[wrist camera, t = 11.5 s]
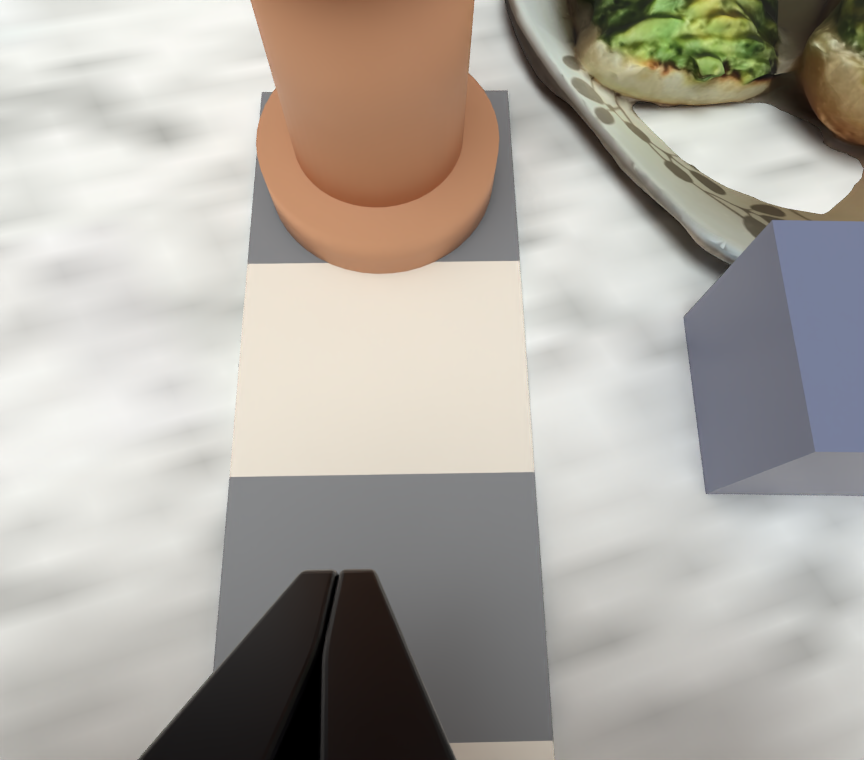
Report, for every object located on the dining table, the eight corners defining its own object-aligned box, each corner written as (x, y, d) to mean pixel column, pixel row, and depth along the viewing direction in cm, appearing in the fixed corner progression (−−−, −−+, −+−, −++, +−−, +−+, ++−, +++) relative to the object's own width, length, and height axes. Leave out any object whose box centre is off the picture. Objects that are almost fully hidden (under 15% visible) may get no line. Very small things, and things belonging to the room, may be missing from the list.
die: (898, 496, 15) (1088, 455, 11) (704, 494, 15) (817, 451, 11) (858, 321, 17) (1012, 221, 12) (682, 318, 17) (773, 218, 12)
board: (608, 1560, 10) (612, 1579, 10) (140, 1581, 10) (135, 1601, 9) (506, 95, 19) (507, 90, 18) (263, 97, 18) (261, 92, 18)
